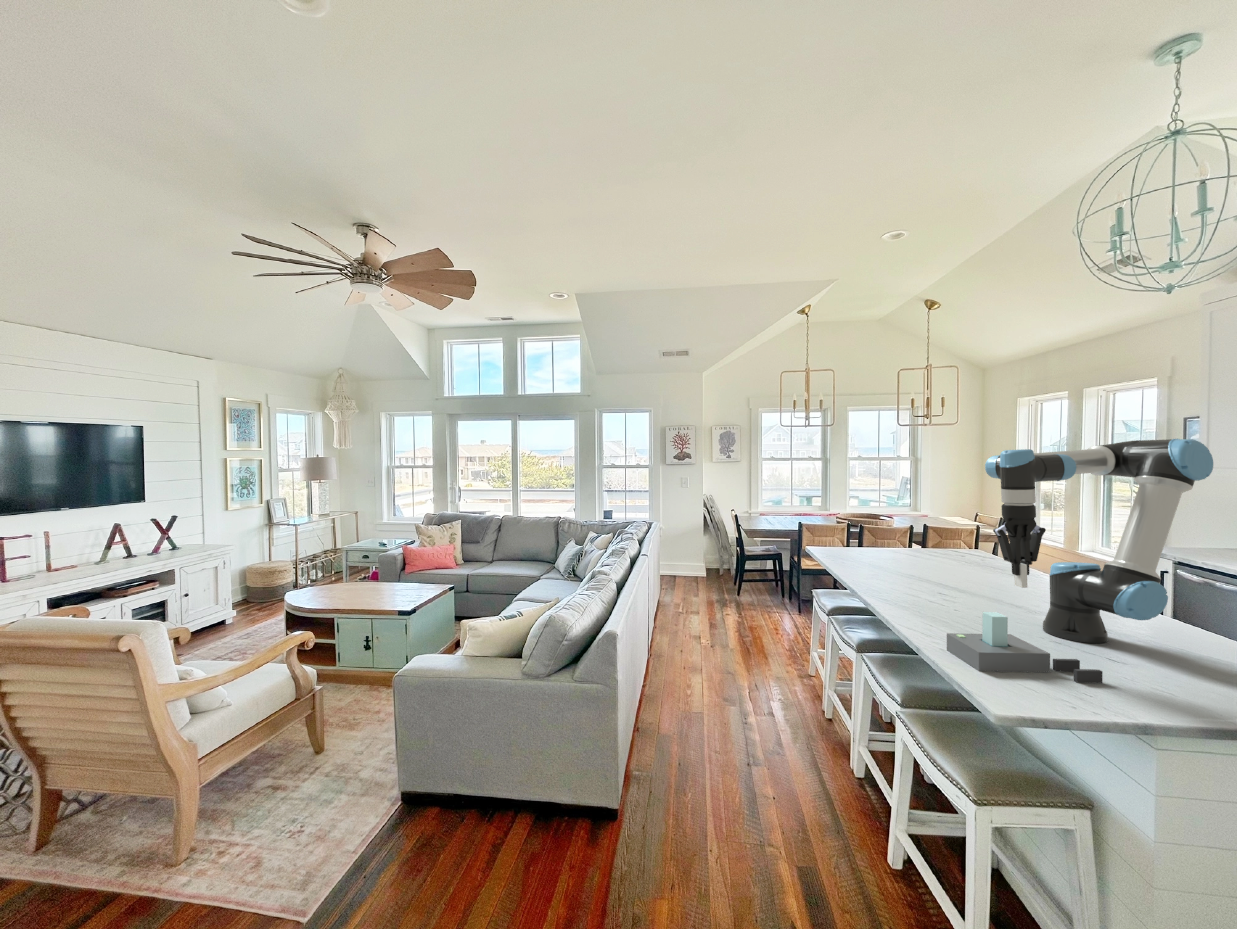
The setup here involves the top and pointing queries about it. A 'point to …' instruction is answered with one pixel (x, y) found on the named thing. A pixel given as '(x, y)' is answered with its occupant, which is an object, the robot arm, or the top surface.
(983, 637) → the plug
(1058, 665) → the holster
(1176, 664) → the top surface
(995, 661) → the port block
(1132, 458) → the robot arm
